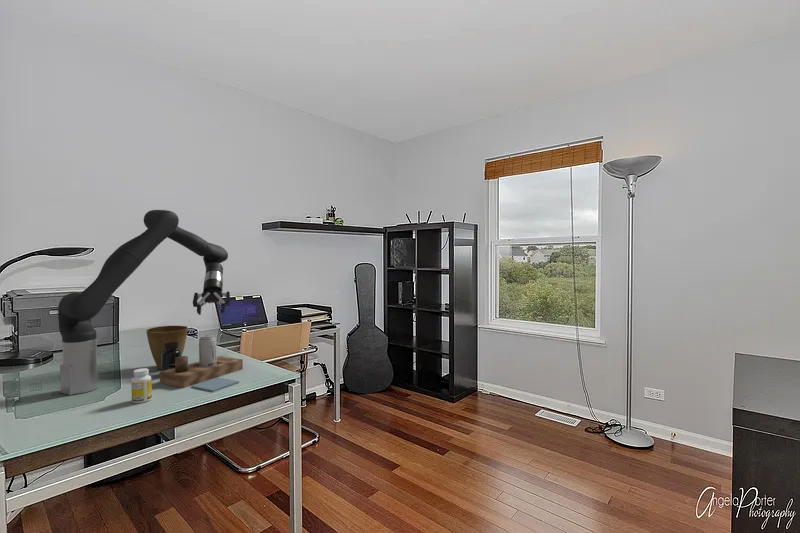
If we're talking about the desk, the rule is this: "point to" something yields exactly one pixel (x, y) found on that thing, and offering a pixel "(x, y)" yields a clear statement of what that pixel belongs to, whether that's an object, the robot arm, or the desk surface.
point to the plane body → (198, 371)
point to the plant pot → (165, 339)
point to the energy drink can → (207, 351)
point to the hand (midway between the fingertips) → (210, 313)
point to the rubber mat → (215, 384)
